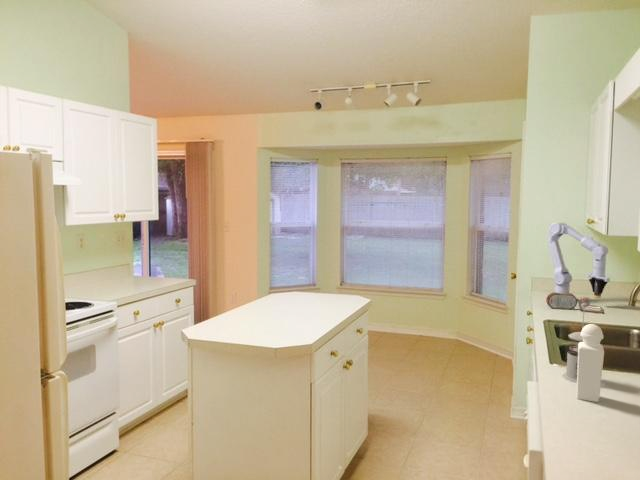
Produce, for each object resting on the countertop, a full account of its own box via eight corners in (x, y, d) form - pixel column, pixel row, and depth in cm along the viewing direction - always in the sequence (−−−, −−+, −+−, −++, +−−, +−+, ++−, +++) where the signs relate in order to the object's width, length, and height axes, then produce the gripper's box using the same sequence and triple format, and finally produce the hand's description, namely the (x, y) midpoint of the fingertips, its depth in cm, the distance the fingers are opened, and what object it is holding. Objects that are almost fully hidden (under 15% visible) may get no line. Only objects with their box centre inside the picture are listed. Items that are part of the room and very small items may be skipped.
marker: (593, 296, 275) (594, 279, 274) (600, 296, 274) (601, 280, 273) (594, 297, 272) (595, 280, 271) (601, 298, 271) (602, 281, 270)
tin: (575, 308, 268) (576, 293, 267) (577, 310, 264) (578, 294, 264) (545, 307, 269) (546, 291, 268) (547, 308, 266) (548, 293, 265)
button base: (578, 304, 277) (579, 299, 277) (589, 305, 275) (589, 300, 275) (578, 306, 273) (579, 300, 273) (589, 307, 271) (589, 301, 270)
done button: (579, 301, 277) (579, 296, 276) (588, 302, 275) (588, 297, 275) (579, 303, 273) (580, 298, 273) (589, 304, 271) (589, 299, 271)
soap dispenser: (574, 391, 154) (579, 320, 152) (599, 395, 151) (604, 323, 149) (575, 399, 148) (580, 325, 146) (600, 403, 145) (606, 328, 143)
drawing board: (580, 306, 272) (580, 304, 272) (601, 308, 268) (601, 307, 268) (580, 311, 261) (580, 309, 261) (602, 313, 257) (603, 311, 257)
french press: (555, 374, 169) (560, 300, 166) (585, 371, 172) (590, 299, 169) (577, 385, 159) (582, 306, 157) (608, 382, 162) (614, 305, 160)
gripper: (583, 265, 278) (581, 290, 279) (602, 269, 263) (600, 295, 265) (594, 265, 279) (593, 290, 280) (614, 269, 265) (612, 295, 266)
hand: (597, 292), depth 273 cm, fingers closed on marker, 3 cm apart
